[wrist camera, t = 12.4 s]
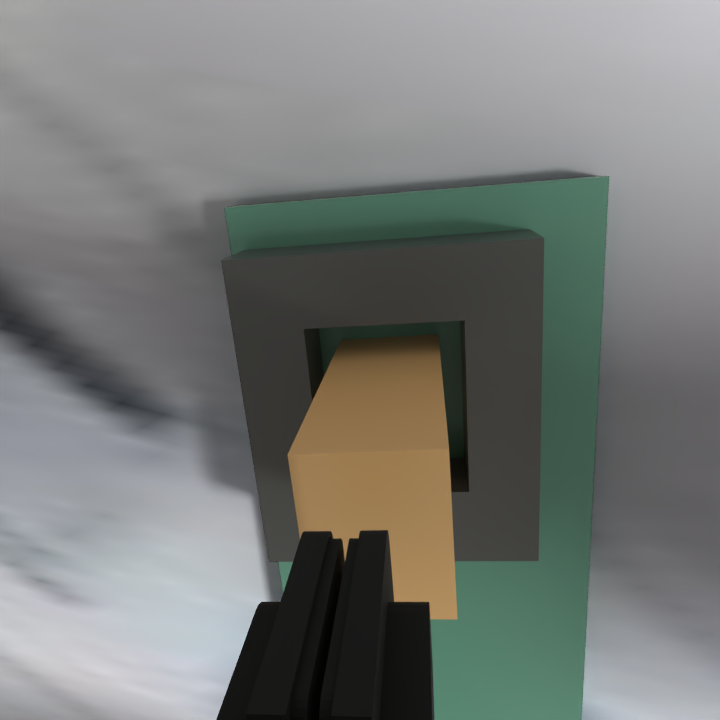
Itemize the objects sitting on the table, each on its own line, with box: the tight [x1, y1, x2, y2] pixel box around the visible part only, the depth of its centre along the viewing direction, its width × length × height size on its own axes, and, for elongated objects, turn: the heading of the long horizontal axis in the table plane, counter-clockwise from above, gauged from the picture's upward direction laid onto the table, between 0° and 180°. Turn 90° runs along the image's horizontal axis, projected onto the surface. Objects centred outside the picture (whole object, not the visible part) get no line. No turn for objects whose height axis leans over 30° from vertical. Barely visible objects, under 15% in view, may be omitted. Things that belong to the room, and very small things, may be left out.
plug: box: [288, 334, 457, 619], centre depth 18 cm, size 4×6×9 cm, turn 5°
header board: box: [222, 176, 609, 720], centre depth 23 cm, size 13×26×4 cm, turn 5°
